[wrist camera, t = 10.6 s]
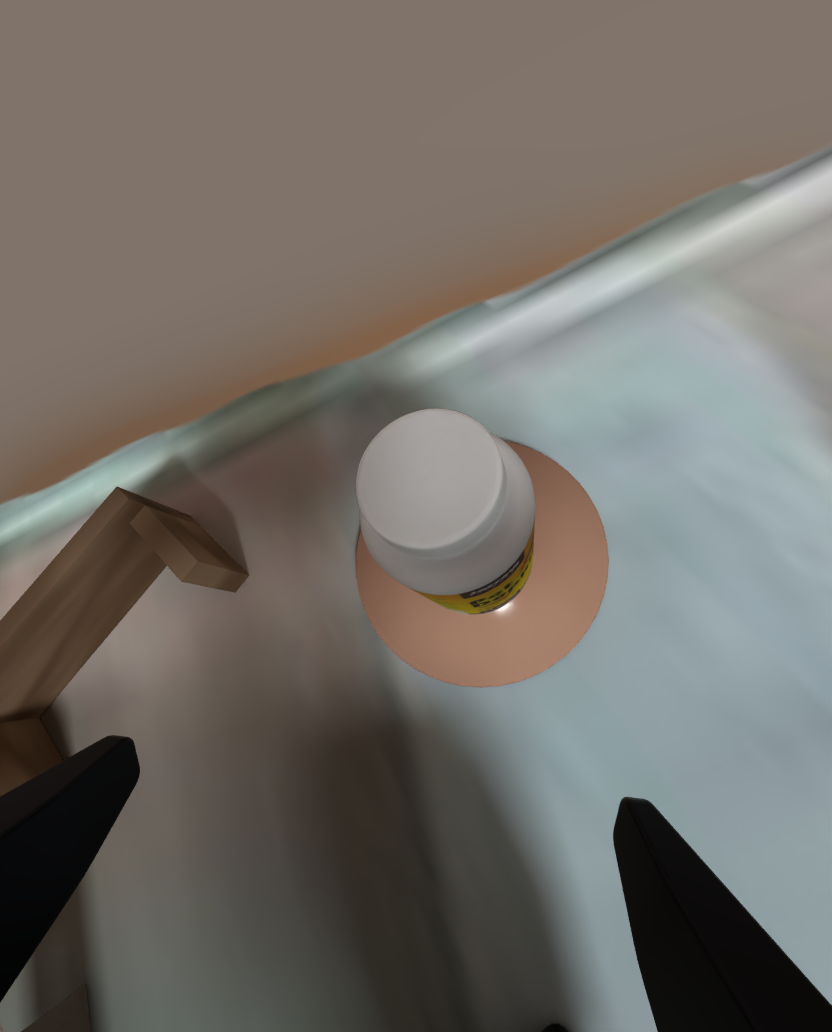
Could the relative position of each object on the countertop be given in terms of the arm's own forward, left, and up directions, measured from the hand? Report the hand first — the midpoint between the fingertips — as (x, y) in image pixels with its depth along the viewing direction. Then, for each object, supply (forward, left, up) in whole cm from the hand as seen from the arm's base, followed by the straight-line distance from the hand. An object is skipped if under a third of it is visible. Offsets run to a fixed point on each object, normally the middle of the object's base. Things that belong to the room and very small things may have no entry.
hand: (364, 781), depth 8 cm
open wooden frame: (+14, +14, -13) cm, 23 cm away
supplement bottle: (+5, -5, -12) cm, 14 cm away
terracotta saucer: (+5, -5, -13) cm, 14 cm away
